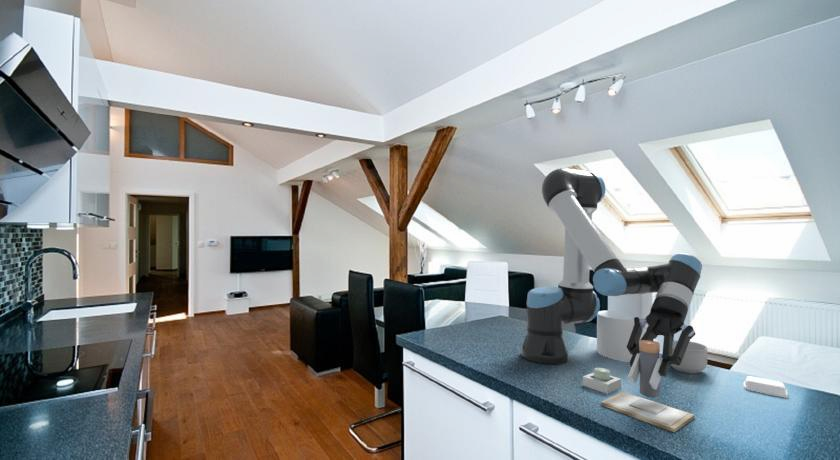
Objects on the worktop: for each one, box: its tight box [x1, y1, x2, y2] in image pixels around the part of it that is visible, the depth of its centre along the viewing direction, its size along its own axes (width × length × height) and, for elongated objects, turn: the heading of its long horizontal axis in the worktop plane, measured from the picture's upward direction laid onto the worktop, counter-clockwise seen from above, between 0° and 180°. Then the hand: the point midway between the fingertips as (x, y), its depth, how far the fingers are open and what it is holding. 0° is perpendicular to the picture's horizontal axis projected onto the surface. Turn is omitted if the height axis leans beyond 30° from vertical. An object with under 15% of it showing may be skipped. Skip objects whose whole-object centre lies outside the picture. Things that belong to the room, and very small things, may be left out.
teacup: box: [670, 339, 708, 374], centre depth 121 cm, size 14×11×8 cm
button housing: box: [582, 371, 622, 395], centre depth 105 cm, size 7×7×2 cm
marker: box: [639, 340, 661, 399], centre depth 91 cm, size 4×4×12 cm
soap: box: [743, 375, 789, 399], centre depth 104 cm, size 9×7×3 cm
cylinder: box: [596, 293, 654, 363], centre depth 135 cm, size 17×17×28 cm
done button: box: [593, 367, 611, 382], centre depth 105 cm, size 4×4×3 cm
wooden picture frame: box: [600, 391, 695, 433], centre depth 91 cm, size 16×11×1 cm
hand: (642, 382), depth 89 cm, fingers closed on marker, 4 cm apart
